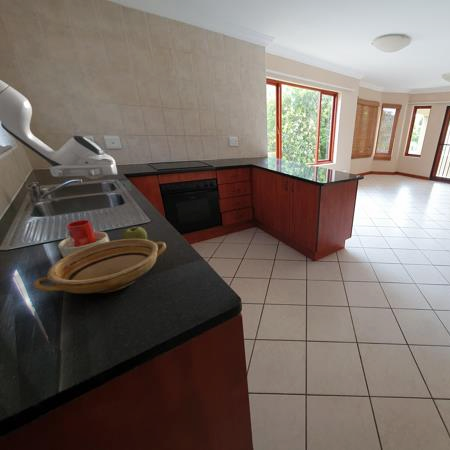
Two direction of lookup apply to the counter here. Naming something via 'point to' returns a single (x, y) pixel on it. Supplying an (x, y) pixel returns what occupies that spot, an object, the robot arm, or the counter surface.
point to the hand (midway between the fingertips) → (75, 173)
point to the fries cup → (81, 233)
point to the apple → (134, 233)
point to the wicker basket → (102, 267)
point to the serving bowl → (68, 246)
